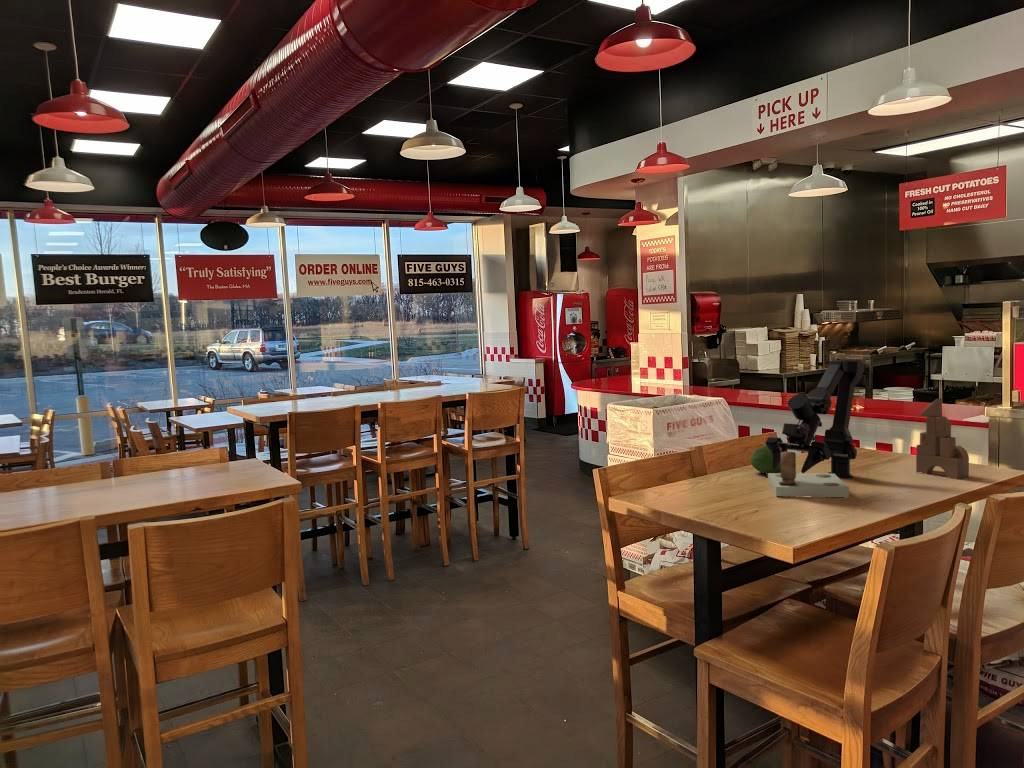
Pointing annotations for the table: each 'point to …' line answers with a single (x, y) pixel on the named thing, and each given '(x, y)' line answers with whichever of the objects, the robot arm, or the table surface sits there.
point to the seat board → (810, 485)
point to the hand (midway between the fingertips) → (787, 470)
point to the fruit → (764, 460)
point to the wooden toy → (940, 445)
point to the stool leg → (788, 468)
